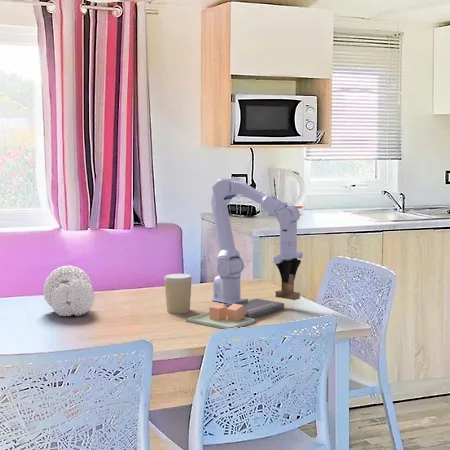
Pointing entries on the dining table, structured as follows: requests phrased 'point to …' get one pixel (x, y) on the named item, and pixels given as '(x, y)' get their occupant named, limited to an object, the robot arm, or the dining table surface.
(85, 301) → the cauliflower
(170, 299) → the coffee cup
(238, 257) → the robot arm
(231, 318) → the block
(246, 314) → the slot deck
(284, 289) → the tan stepped block
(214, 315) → the block
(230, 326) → the tray
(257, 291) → the dining table surface
